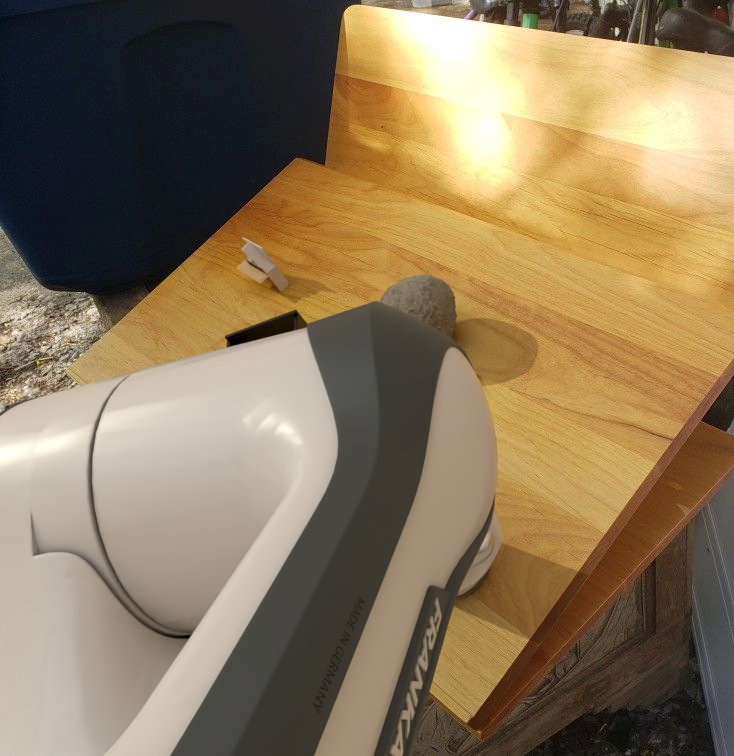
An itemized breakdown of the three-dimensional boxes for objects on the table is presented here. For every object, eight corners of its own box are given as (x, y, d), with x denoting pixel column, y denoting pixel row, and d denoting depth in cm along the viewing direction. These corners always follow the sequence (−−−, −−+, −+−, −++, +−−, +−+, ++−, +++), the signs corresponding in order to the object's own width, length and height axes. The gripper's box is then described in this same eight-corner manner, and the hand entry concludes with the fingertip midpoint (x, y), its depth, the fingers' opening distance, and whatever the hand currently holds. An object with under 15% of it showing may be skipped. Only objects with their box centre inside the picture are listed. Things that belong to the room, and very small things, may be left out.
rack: (314, 411, 86) (296, 391, 82) (238, 438, 87) (217, 419, 83) (312, 330, 95) (295, 308, 91) (243, 355, 96) (224, 335, 92)
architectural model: (273, 299, 102) (245, 264, 96) (250, 284, 106) (221, 249, 100) (290, 283, 103) (263, 248, 97) (266, 269, 107) (238, 234, 101)
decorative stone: (418, 384, 83) (385, 333, 76) (386, 349, 88) (351, 298, 81) (483, 334, 85) (456, 279, 77) (447, 302, 90) (419, 248, 83)
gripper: (467, 501, 32) (490, 442, 46) (89, 628, 34) (219, 535, 48) (511, 621, 33) (522, 527, 47) (136, 740, 35) (252, 616, 49)
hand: (366, 532), depth 47 cm, fingers open, 8 cm apart
